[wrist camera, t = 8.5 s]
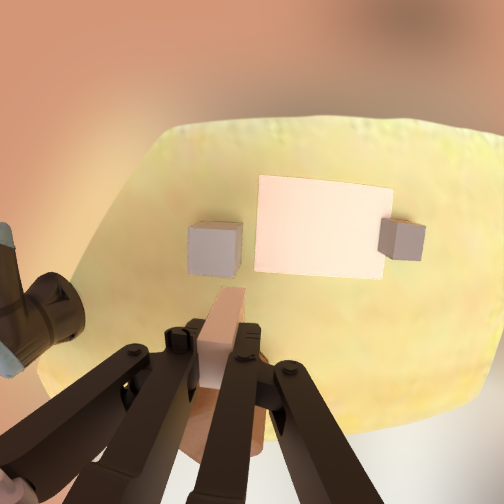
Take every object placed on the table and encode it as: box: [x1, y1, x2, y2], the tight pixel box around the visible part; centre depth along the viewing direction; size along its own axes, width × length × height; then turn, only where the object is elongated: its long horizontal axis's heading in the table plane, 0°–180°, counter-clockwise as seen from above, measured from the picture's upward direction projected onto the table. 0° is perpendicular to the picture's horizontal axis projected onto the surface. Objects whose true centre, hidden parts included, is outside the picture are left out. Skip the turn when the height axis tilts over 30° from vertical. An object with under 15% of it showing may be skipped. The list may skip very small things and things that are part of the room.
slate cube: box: [188, 221, 243, 278], centre depth 37 cm, size 6×6×7 cm
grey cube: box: [378, 218, 426, 261], centre depth 35 cm, size 5×5×5 cm
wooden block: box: [179, 353, 269, 464], centre depth 36 cm, size 10×10×20 cm
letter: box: [254, 175, 393, 280], centre depth 39 cm, size 20×14×1 cm
